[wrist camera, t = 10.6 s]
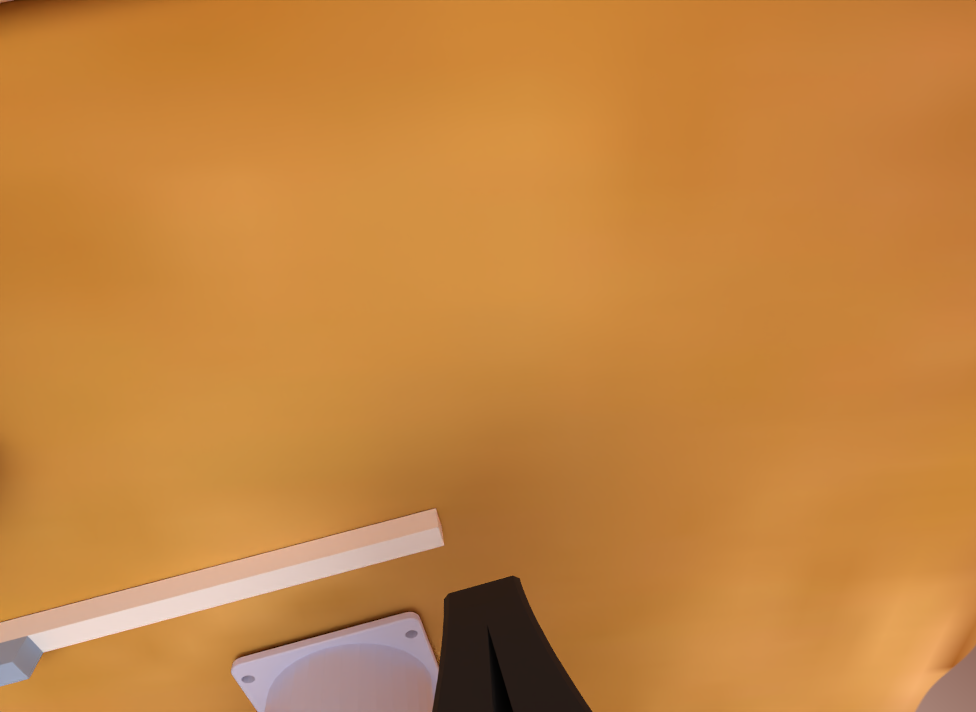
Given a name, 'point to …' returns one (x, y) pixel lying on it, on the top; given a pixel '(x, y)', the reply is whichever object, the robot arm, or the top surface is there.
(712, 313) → the top surface
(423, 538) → the white flat piece
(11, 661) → the bracket
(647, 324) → the top surface
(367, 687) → the robot arm
